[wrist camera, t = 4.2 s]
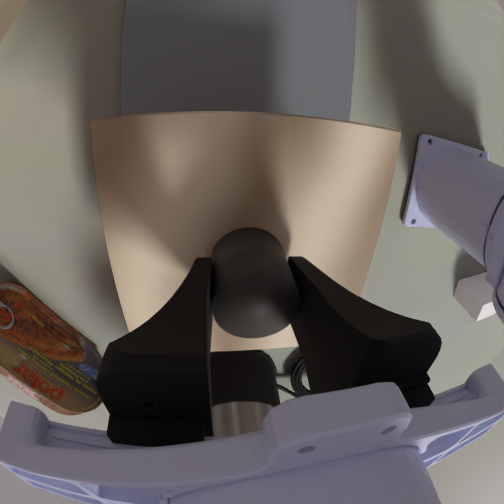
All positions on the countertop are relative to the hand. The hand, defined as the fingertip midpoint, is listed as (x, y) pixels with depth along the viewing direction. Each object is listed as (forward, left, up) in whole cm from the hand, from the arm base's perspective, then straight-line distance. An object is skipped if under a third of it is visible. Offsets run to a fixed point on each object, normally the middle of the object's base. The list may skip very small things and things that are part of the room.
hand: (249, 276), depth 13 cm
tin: (+18, +11, -10) cm, 23 cm away
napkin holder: (-32, +10, -10) cm, 35 cm away
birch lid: (0, 0, -2) cm, 2 cm away
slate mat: (0, -13, -9) cm, 16 cm away
